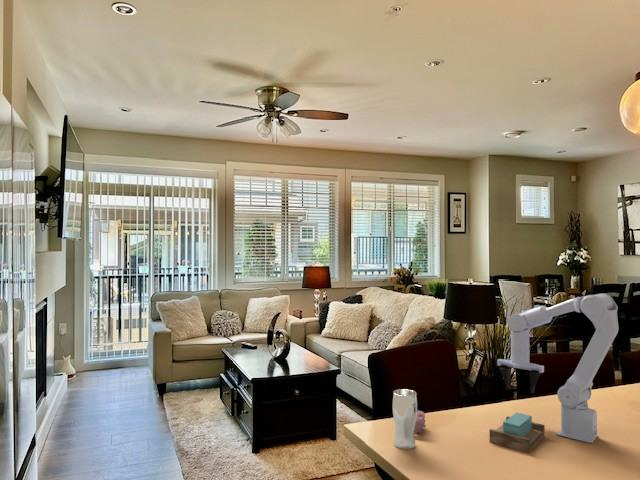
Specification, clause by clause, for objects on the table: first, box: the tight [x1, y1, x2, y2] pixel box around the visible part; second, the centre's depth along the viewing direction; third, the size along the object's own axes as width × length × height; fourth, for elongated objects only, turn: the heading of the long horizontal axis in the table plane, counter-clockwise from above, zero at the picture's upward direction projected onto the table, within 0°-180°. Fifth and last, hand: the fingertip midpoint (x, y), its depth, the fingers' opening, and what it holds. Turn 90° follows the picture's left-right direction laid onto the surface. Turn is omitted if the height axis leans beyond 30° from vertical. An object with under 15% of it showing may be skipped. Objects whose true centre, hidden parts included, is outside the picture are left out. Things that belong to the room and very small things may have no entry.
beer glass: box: [392, 388, 418, 450], centre depth 135 cm, size 7×7×15 cm
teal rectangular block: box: [502, 412, 533, 437], centre depth 140 cm, size 4×11×4 cm, turn 138°
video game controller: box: [414, 409, 427, 436], centre depth 146 cm, size 10×5×7 cm, turn 169°
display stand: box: [489, 416, 546, 453], centre depth 140 cm, size 11×15×4 cm
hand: (520, 390), depth 157 cm, fingers open, 7 cm apart
